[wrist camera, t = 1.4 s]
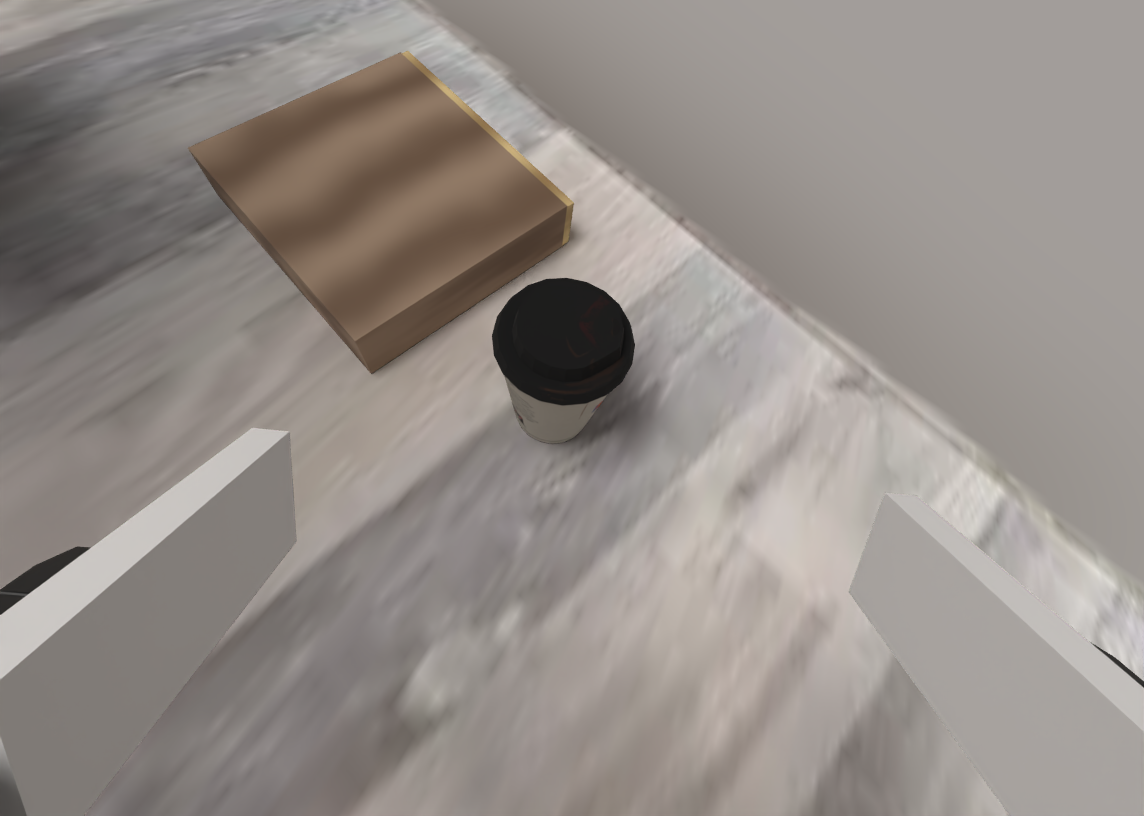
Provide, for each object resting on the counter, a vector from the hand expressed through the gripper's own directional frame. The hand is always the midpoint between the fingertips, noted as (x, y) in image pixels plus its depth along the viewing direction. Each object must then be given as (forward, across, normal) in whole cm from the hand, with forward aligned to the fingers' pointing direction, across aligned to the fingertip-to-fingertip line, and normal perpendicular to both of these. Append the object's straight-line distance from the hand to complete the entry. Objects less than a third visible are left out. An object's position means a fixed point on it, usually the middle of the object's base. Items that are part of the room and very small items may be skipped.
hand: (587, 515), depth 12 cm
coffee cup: (+22, -1, -6) cm, 23 cm away
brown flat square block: (+31, -13, +4) cm, 34 cm away
